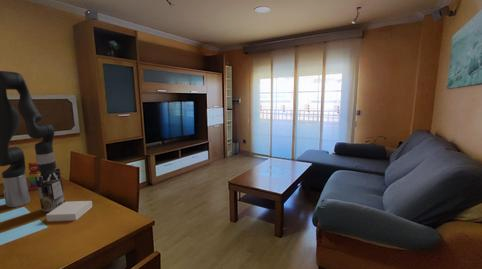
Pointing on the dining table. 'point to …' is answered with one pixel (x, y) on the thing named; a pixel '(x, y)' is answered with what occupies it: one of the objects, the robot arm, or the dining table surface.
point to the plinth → (69, 211)
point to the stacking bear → (33, 176)
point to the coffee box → (52, 195)
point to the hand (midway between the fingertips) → (51, 190)
